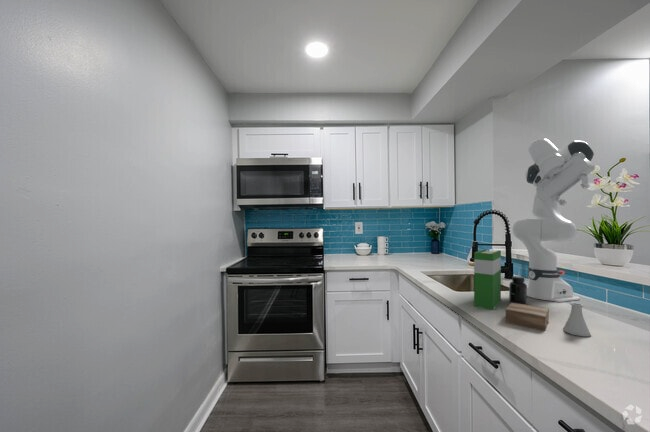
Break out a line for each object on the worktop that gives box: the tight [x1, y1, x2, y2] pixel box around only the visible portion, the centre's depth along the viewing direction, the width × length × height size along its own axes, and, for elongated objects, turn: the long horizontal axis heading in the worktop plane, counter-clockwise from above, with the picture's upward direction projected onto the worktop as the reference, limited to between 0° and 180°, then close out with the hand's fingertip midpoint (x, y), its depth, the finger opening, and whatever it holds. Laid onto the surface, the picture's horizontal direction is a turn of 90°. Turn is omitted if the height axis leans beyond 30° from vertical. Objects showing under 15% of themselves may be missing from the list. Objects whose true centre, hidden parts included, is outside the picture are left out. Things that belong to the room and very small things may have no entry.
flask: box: [562, 302, 592, 337], centre depth 100 cm, size 7×7×10 cm
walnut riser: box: [505, 302, 550, 332], centre depth 110 cm, size 12×12×5 cm
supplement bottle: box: [508, 275, 528, 305], centre depth 136 cm, size 7×7×12 cm
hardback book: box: [473, 249, 502, 311], centre depth 134 cm, size 18×7×24 cm, turn 140°
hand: (574, 196), depth 106 cm, fingers open, 8 cm apart
